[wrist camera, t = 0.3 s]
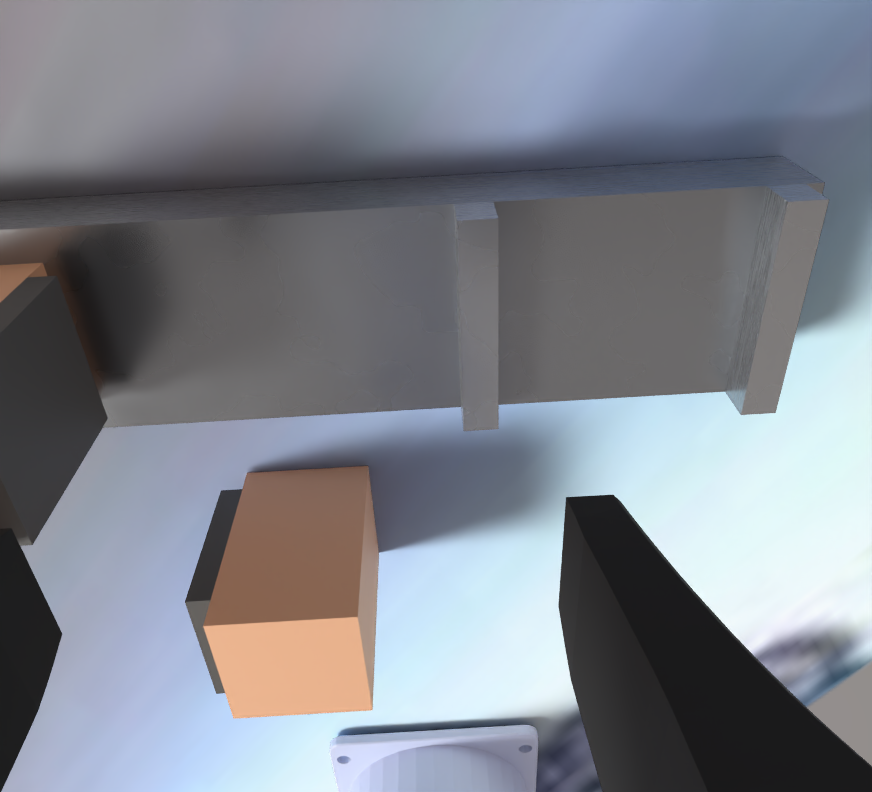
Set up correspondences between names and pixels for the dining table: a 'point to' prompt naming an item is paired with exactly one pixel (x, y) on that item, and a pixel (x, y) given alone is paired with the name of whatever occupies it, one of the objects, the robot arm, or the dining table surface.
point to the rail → (433, 289)
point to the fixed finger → (40, 399)
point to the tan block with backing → (290, 593)
